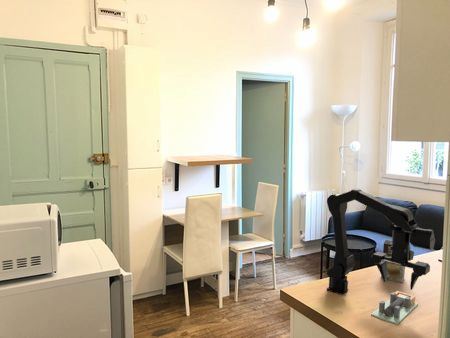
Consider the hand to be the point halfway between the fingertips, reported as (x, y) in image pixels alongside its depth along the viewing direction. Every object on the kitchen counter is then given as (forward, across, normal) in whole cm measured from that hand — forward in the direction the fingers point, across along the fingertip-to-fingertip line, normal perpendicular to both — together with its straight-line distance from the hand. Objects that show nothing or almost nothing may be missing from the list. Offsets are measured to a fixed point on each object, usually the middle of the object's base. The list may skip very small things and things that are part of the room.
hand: (398, 285), depth 134 cm
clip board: (+9, 0, +1) cm, 9 cm away
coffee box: (+9, +12, -30) cm, 33 cm away
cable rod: (+9, 0, +1) cm, 9 cm away
